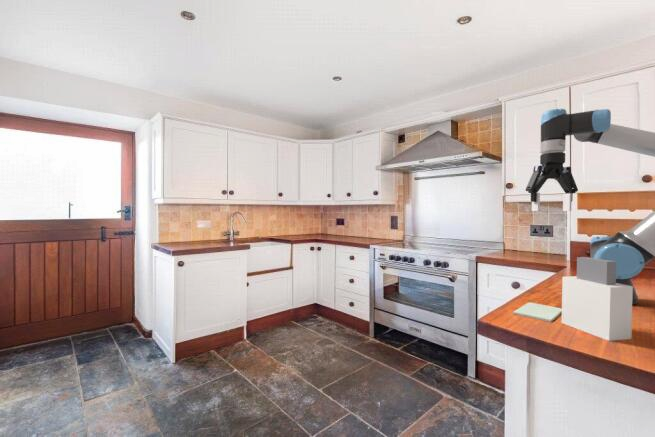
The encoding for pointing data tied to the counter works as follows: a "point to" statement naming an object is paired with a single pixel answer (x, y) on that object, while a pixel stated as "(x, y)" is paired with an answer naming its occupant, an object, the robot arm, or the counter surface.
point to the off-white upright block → (597, 300)
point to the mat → (538, 311)
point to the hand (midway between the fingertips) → (551, 211)
